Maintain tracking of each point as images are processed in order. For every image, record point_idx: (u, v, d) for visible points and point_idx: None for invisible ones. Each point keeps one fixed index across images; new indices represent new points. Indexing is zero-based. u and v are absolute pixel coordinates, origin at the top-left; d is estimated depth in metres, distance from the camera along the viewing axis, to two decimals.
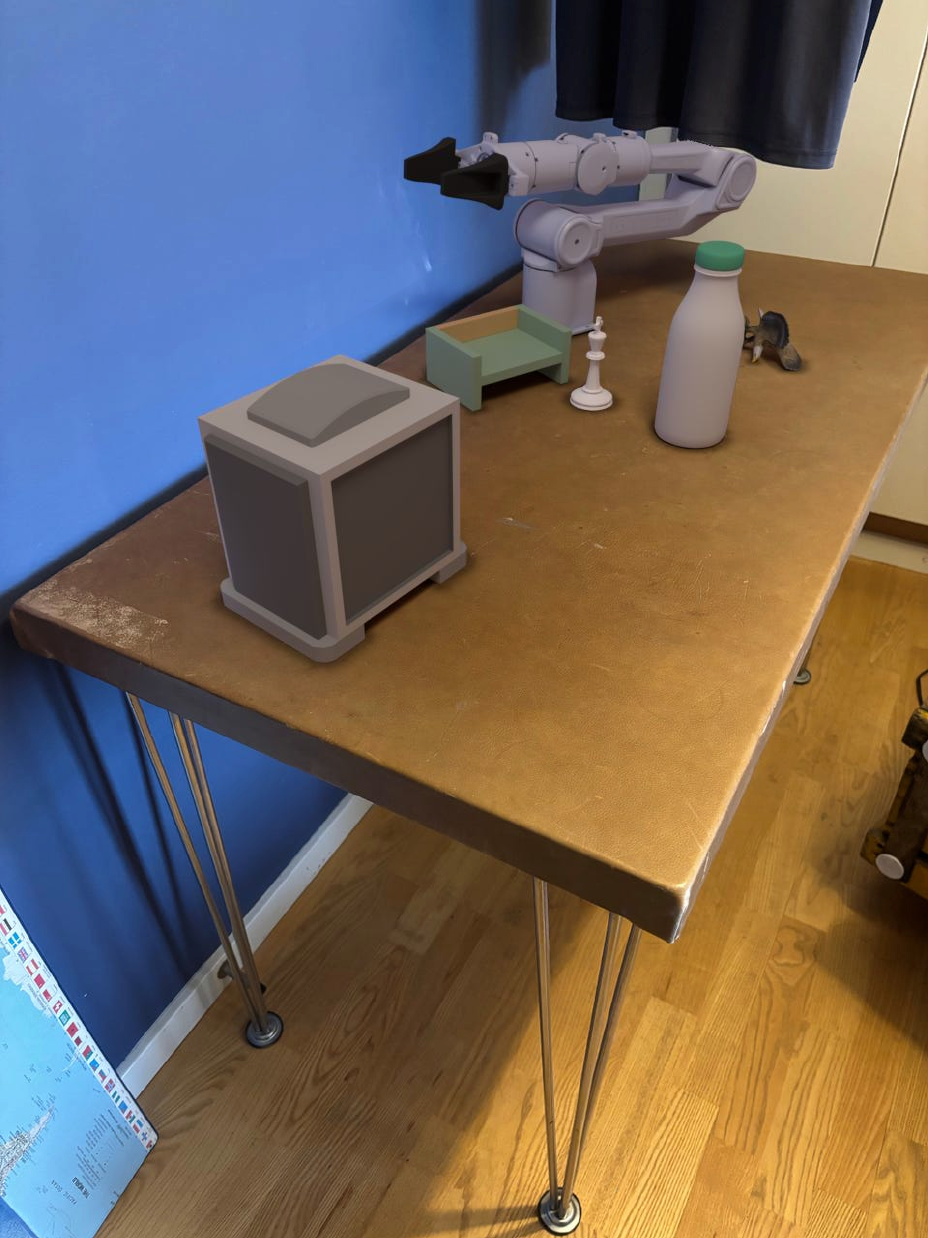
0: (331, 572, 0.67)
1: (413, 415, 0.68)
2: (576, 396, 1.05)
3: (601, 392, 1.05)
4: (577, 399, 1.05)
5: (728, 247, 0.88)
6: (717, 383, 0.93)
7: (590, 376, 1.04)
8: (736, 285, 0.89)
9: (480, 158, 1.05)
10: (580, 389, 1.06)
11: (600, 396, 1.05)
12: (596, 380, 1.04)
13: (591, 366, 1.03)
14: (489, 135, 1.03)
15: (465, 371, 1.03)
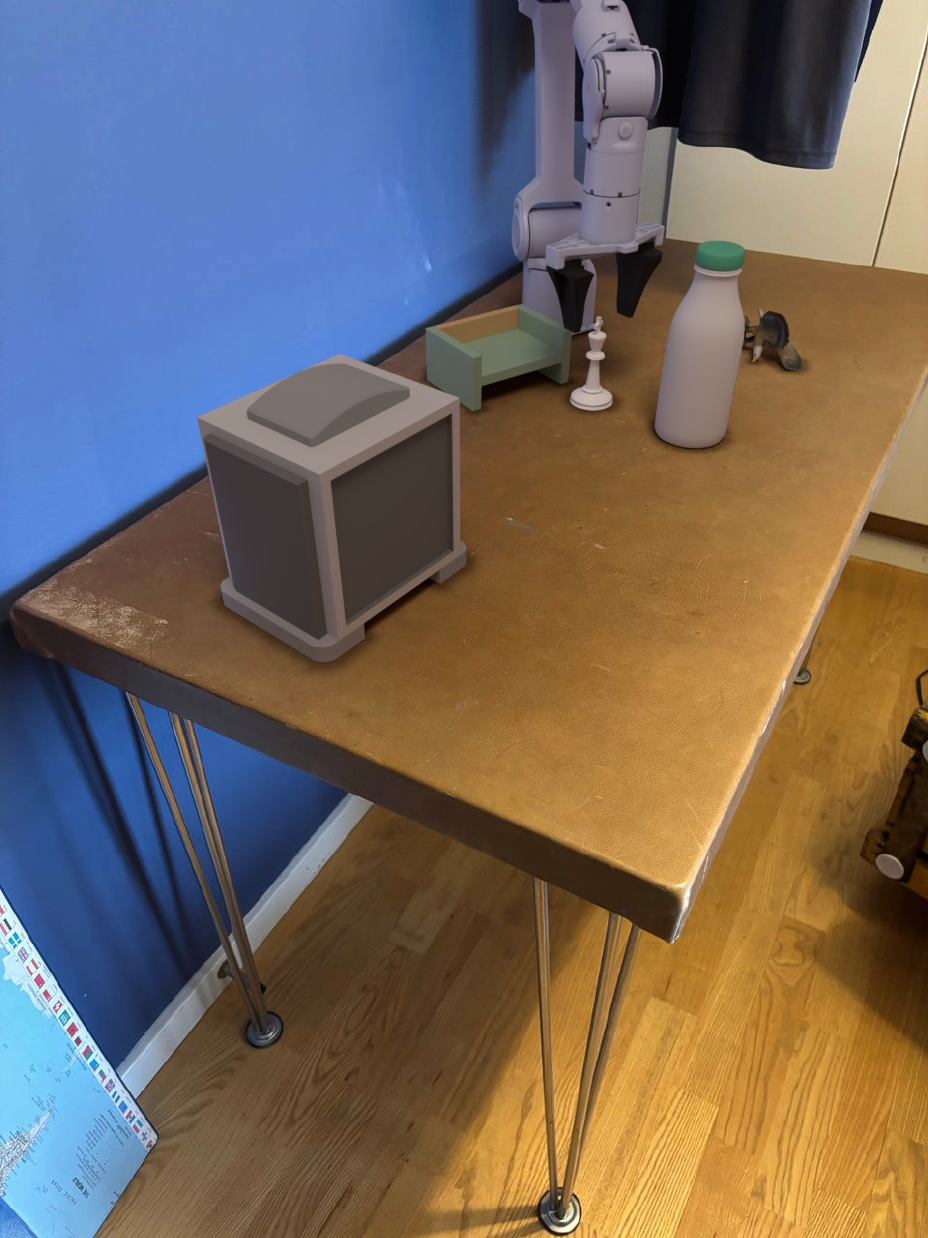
0: (331, 572, 0.67)
1: (413, 415, 0.68)
2: (576, 396, 1.05)
3: (601, 392, 1.05)
4: (577, 399, 1.05)
5: (728, 247, 0.87)
6: (717, 383, 0.93)
7: (590, 376, 1.04)
8: (736, 285, 0.89)
9: None
10: (580, 389, 1.06)
11: (600, 396, 1.05)
12: (596, 380, 1.04)
13: (591, 366, 1.03)
14: None
15: (465, 371, 1.03)
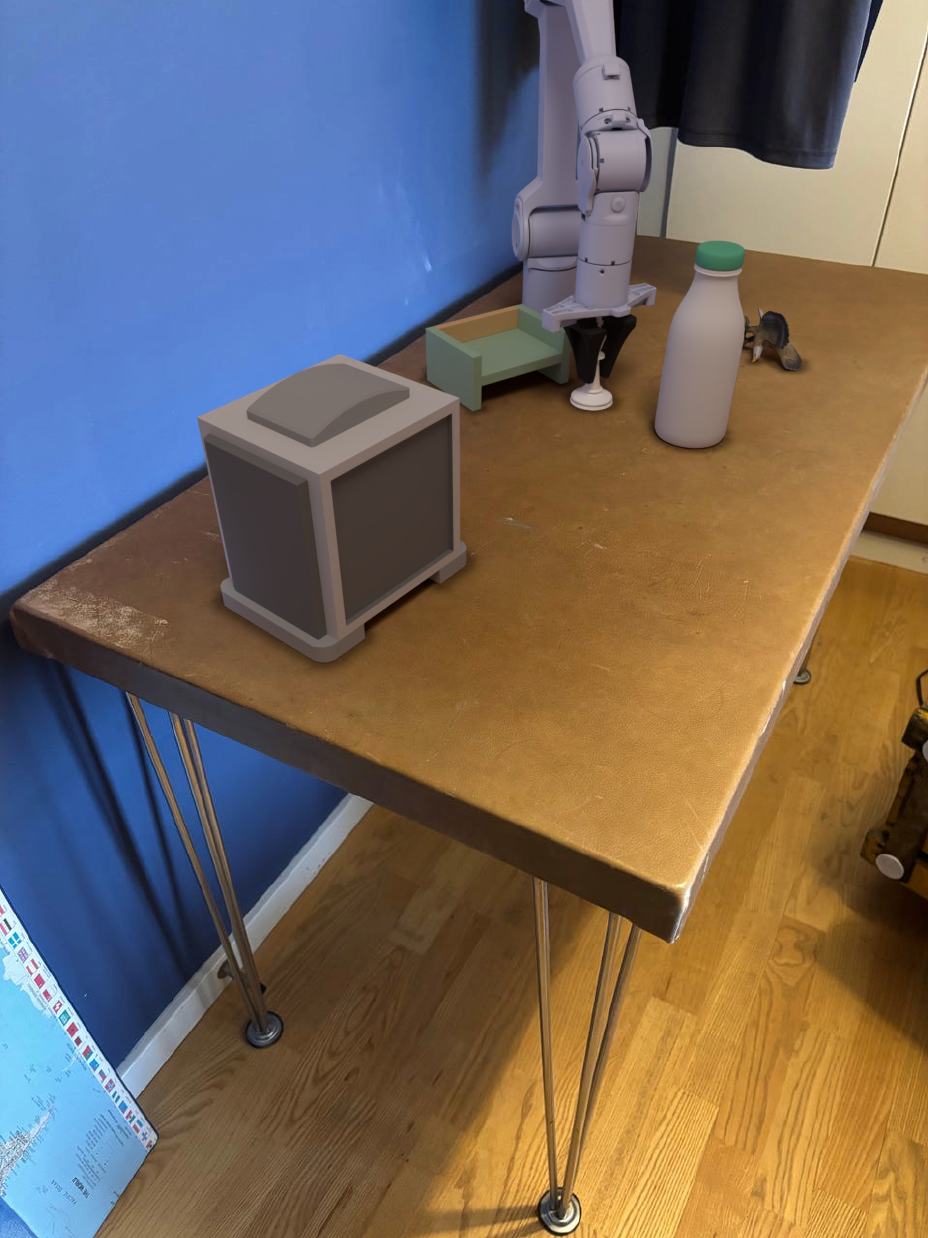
0: (331, 572, 0.67)
1: (413, 415, 0.68)
2: (576, 396, 1.05)
3: (601, 392, 1.05)
4: (577, 399, 1.05)
5: (728, 247, 0.87)
6: (717, 383, 0.93)
7: None
8: (736, 285, 0.89)
9: None
10: (580, 389, 1.06)
11: (600, 396, 1.05)
12: (596, 380, 1.04)
13: None
14: None
15: (465, 371, 1.03)
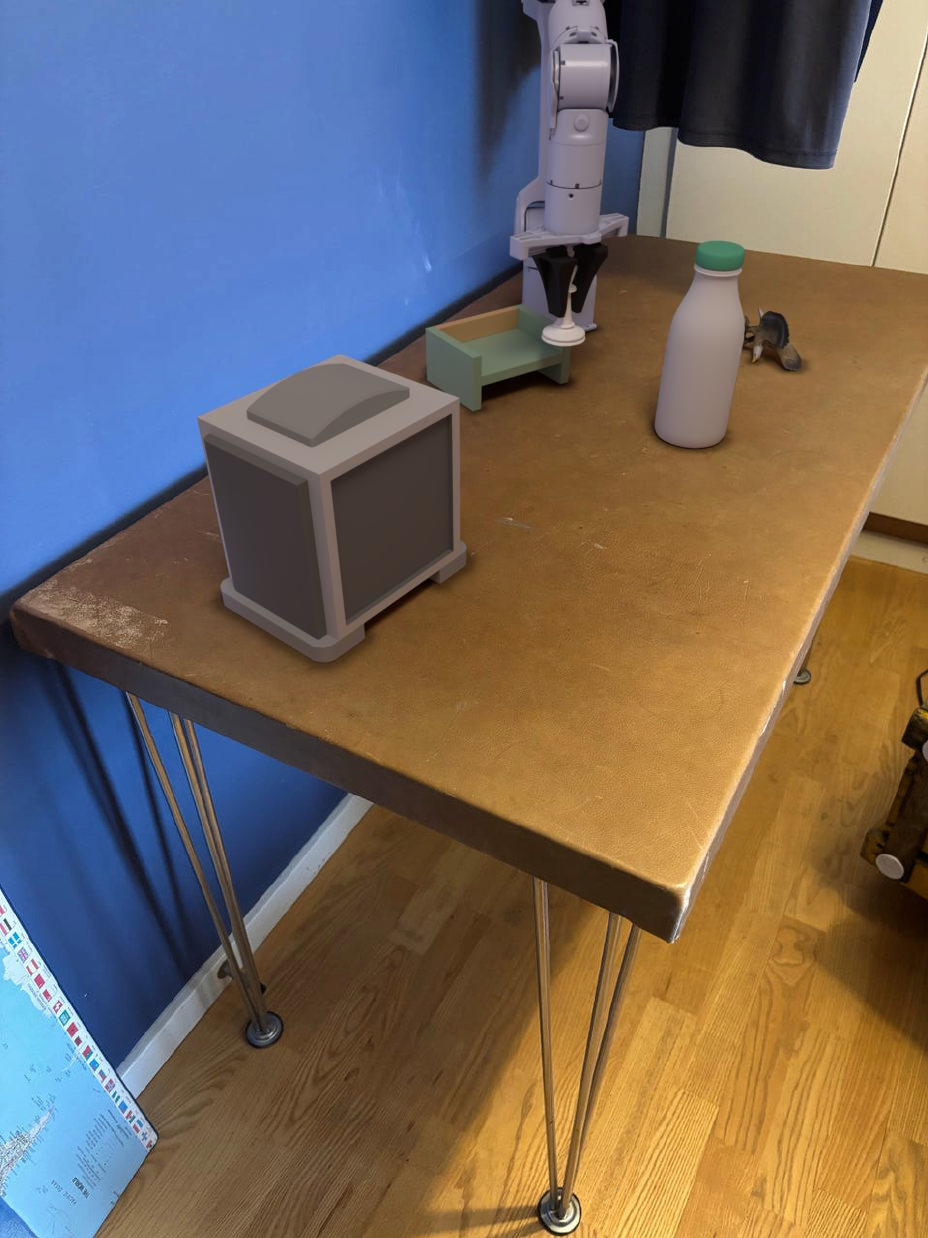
0: (331, 572, 0.67)
1: (413, 415, 0.68)
2: (548, 332, 1.02)
3: (573, 328, 1.02)
4: (548, 335, 1.02)
5: (728, 247, 0.87)
6: (717, 383, 0.93)
7: None
8: (736, 285, 0.89)
9: None
10: (552, 325, 1.03)
11: (572, 332, 1.02)
12: (568, 315, 1.01)
13: None
14: None
15: (465, 371, 1.03)
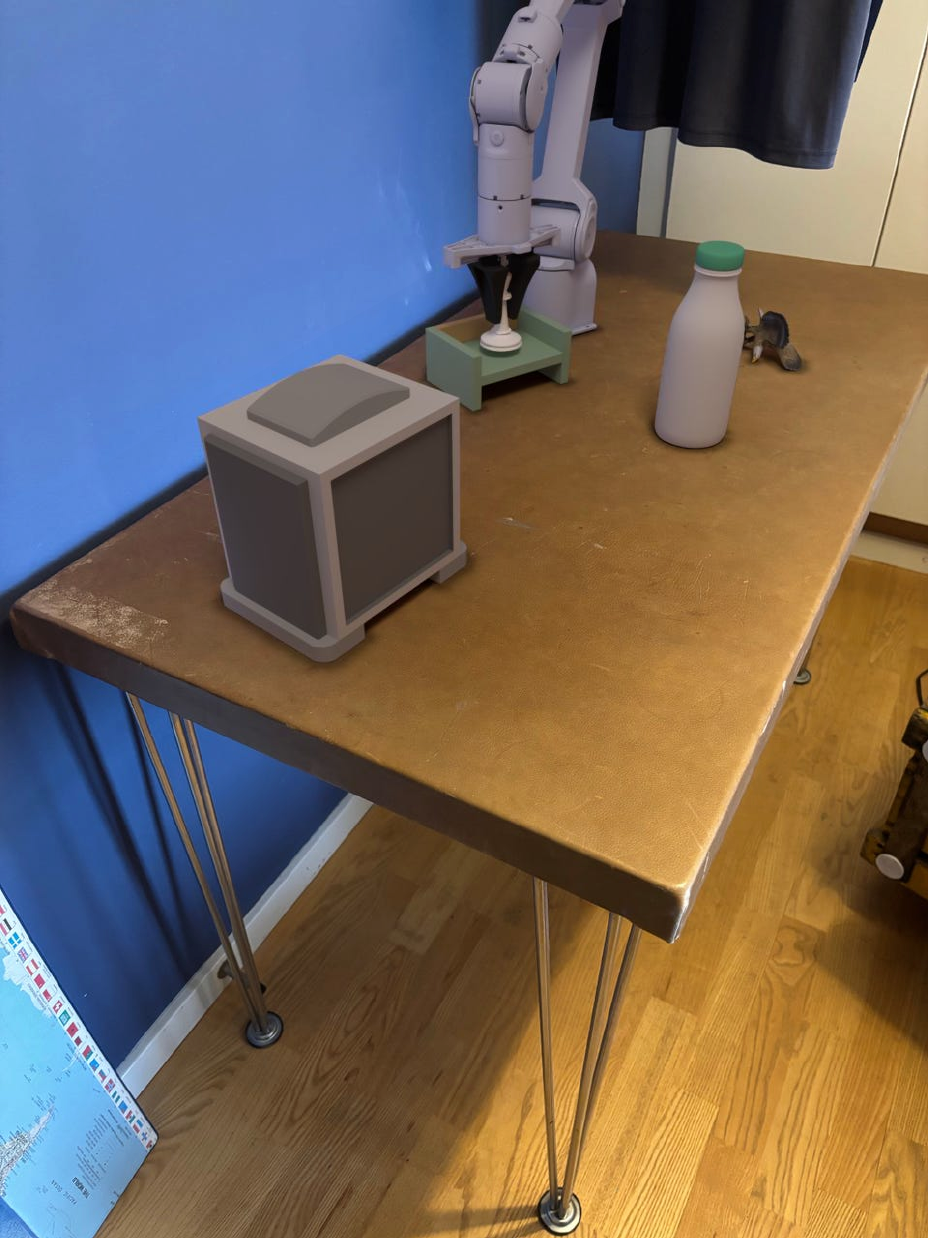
0: (331, 572, 0.67)
1: (413, 415, 0.68)
2: (485, 337, 1.06)
3: (510, 334, 1.06)
4: (486, 340, 1.06)
5: (728, 247, 0.87)
6: (717, 383, 0.93)
7: None
8: (736, 285, 0.89)
9: None
10: (490, 331, 1.07)
11: (508, 337, 1.06)
12: (504, 321, 1.05)
13: None
14: (525, 251, 0.98)
15: (465, 371, 1.03)
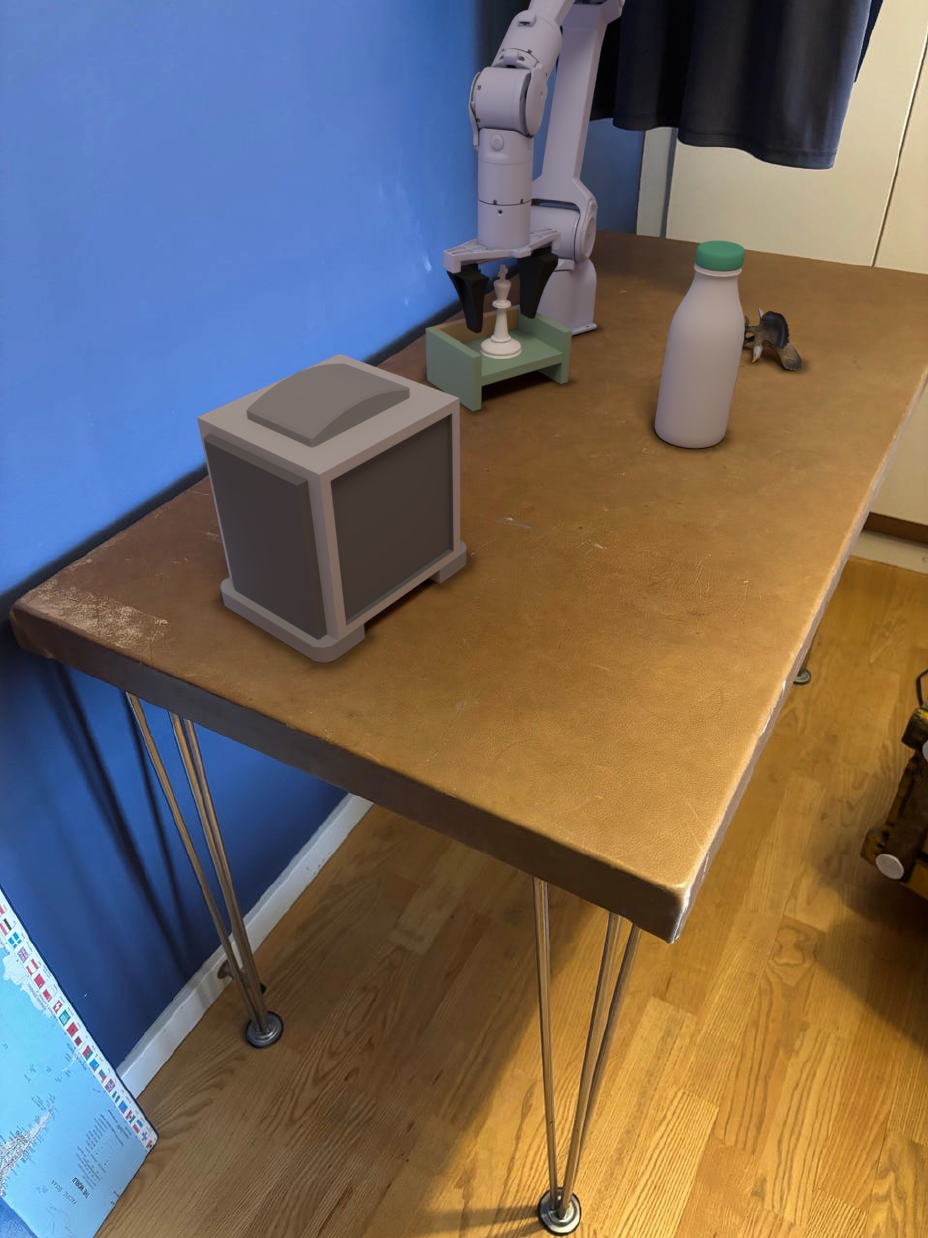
0: (331, 572, 0.67)
1: (413, 415, 0.68)
2: (485, 345, 1.07)
3: (509, 341, 1.07)
4: (485, 348, 1.06)
5: (728, 247, 0.87)
6: (717, 383, 0.93)
7: (497, 325, 1.05)
8: (736, 285, 0.89)
9: None
10: (490, 339, 1.08)
11: (508, 345, 1.06)
12: (504, 329, 1.05)
13: (498, 315, 1.05)
14: (525, 256, 0.98)
15: (465, 371, 1.03)
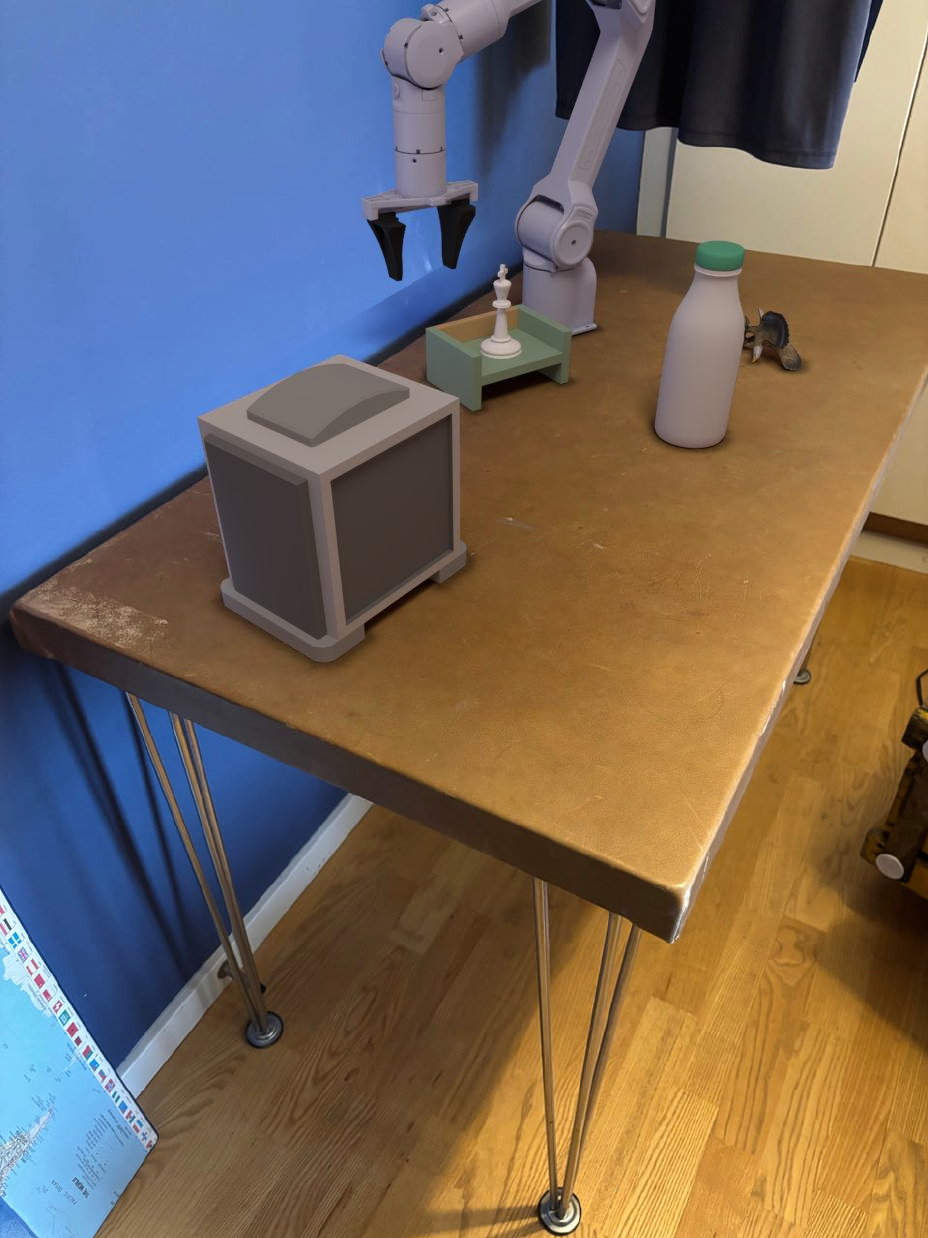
0: (331, 572, 0.67)
1: (413, 415, 0.68)
2: (485, 345, 1.07)
3: (509, 341, 1.07)
4: (485, 348, 1.06)
5: (728, 247, 0.87)
6: (717, 383, 0.93)
7: (497, 325, 1.05)
8: (736, 285, 0.89)
9: None
10: (490, 339, 1.08)
11: (508, 345, 1.06)
12: (504, 329, 1.05)
13: (498, 315, 1.05)
14: (440, 204, 1.02)
15: (465, 371, 1.03)
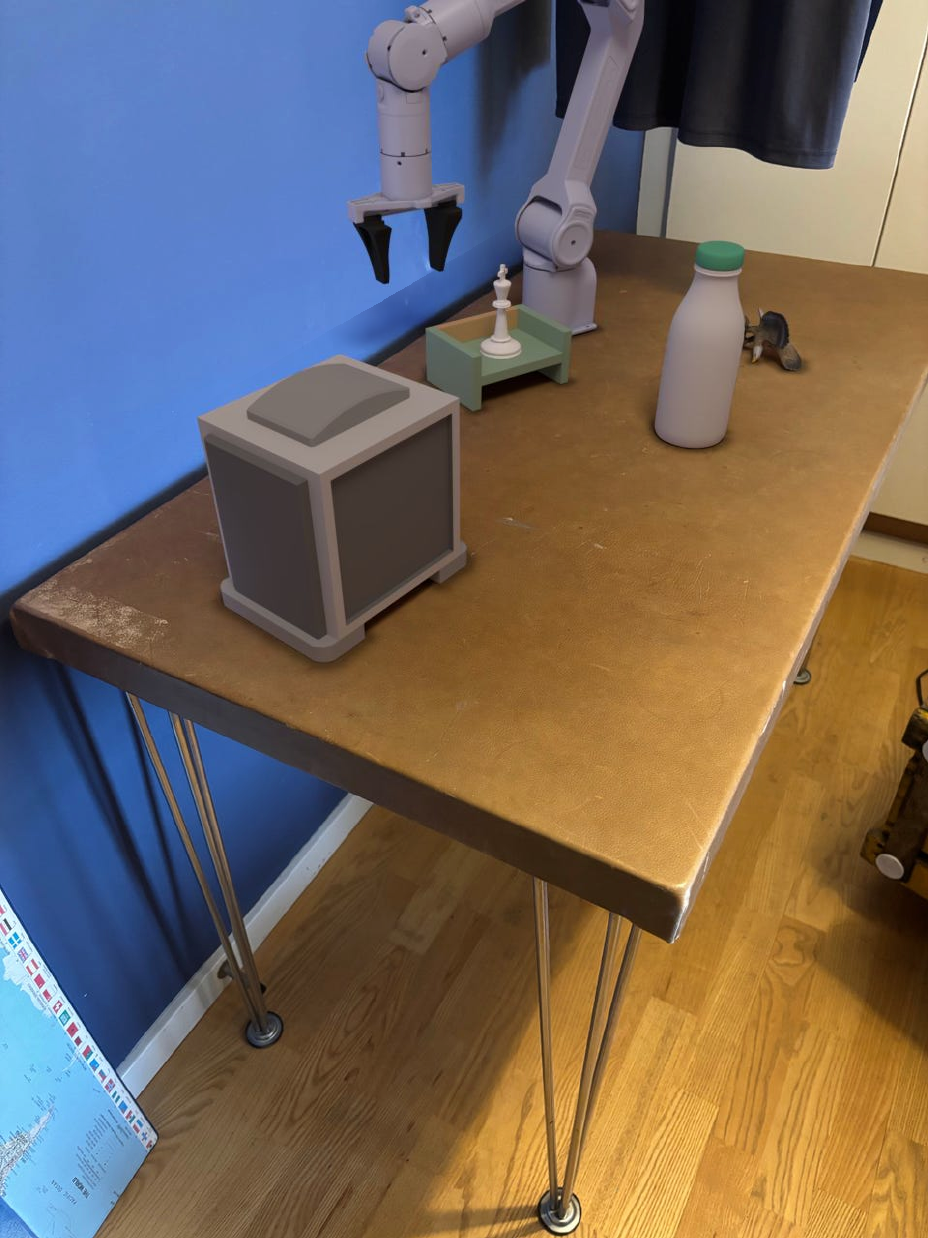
0: (331, 572, 0.67)
1: (413, 415, 0.68)
2: (485, 345, 1.07)
3: (509, 341, 1.07)
4: (485, 348, 1.06)
5: (728, 247, 0.87)
6: (717, 383, 0.93)
7: (497, 325, 1.05)
8: (736, 285, 0.89)
9: None
10: (490, 339, 1.08)
11: (508, 345, 1.06)
12: (504, 329, 1.05)
13: (498, 315, 1.05)
14: (426, 207, 1.01)
15: (465, 371, 1.03)
